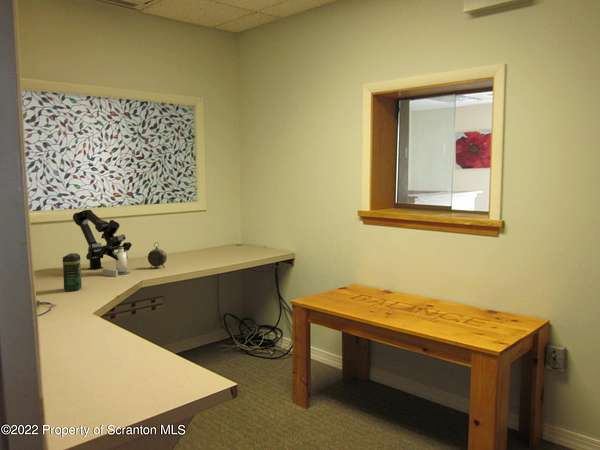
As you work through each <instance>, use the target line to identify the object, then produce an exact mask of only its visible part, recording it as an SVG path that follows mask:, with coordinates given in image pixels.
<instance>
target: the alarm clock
mask: <svg viewBox="0 0 600 450" xmlns="http://www.w3.org/2000/svg"><path fill="white" fill-rule="evenodd" d="M155 244H158V246H155ZM159 246H160V243H159V242H154V243H153V247H154V248H153V249H152V250H151V251H149V253H147V254H148V255H147V261H148V263H149V264H150V265H151V266H150V268H152V267H155V269H157V268H158V267H161V266H162V267H163V268H165V266H164V264H166V261H167V257H168V256H167V254H166V251H164V250H163V249H162V248H159Z"/></svg>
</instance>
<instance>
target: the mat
mask: <svg viewBox="0 0 600 450" xmlns="http://www.w3.org/2000/svg"><path fill="white" fill-rule="evenodd" d="M129 274H131V271H128V270H127V271H124V272H118V276H124V275H129Z"/></svg>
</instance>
